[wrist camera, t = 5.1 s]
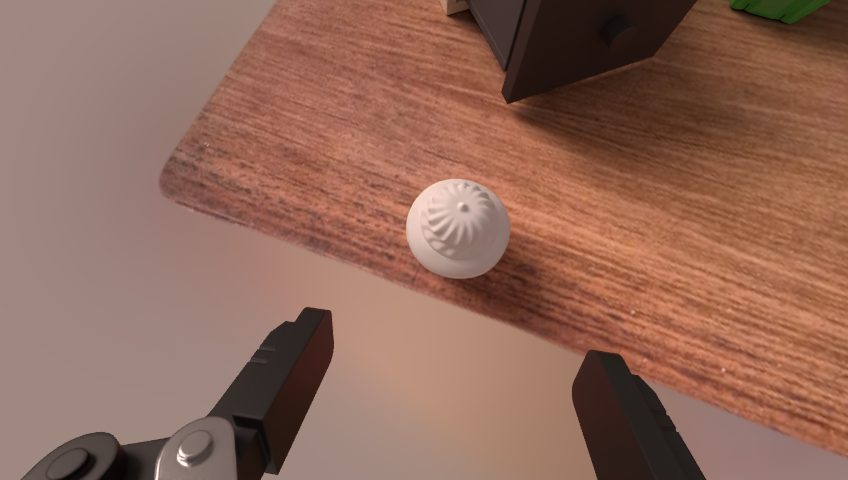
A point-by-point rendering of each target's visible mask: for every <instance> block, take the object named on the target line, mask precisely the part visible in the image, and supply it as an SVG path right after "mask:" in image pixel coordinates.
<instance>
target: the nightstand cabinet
mask: <svg viewBox="0 0 848 480" xmlns="http://www.w3.org/2000/svg"><path fill="white" fill-rule="evenodd" d="M439 2H440V4H441V6H442V8H443V9H444V11H445V13H446V15H450V14H453V13H457V12H460V11H463V10H467V9H469V7H468V5H467V3H466V1H465V0H439Z"/></svg>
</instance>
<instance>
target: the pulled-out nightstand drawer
mask: <svg viewBox="0 0 848 480" xmlns="http://www.w3.org/2000/svg"><path fill="white" fill-rule="evenodd" d="M465 1H466V3H467V5H468V7H469V9H470V10H471V12H472V14H473V16H474V18H475V20H476V21H477V23H478V25H479V27H480V29H481V30H482V32H483V34H484V36H485V38H486V40H487V41H488V43H489V45H490V47H491V49H492V51H493V52H494V54H495V56H496V58H497V60H498V61H499V63H500V65H501V67H502V69H503V71H507V74H506V78H505V81H504V85H503V88H502V92H501V93H502V95H503V97H504V99H505V100H506V102H507V104H509V103H513V102H516V101H519V100H522V99H525V98H528V97H531V96H534V95H537V94H540V93H543V92H546V91H549V90H552V89H555V88H558V87H561V86H564V85H567V84H570V83H573V82H576V81H579V80H582V79H585V78H589V77H592V76H595V75H598V74H601V73H604V72H607V71H610V70H613V69H616V68H619V67H622V66H625V65H628V64H631V63H634V62H637V61H640V60H643V59H646V58H649V57H652V56H654V54H655V53H656V52H657V51H658V49H659V48H660V47H661V46H662V44H663V43H664V42H665V41H666V39H667V38H668V37H669V36H670V34H671V33H672V32H673V31H674V29H675V28H676V27H677V25H678V24H679V23H680V22H681V20H682V19H683V18H684V17H685V15H686V14H687V13H688V12H689V10H690V9H691V8H692V7H693V5H694V4H695V3H696V2H697V0H465Z"/></svg>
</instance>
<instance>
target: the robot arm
mask: <svg viewBox="0 0 848 480" xmlns="http://www.w3.org/2000/svg"><path fill="white" fill-rule="evenodd" d="M333 349H334V338H333V326H332V314H331V311H330V310H324V309H317V308H310V307H306V308H304V309H303V311H302V312H301V314H300V315H299V316H298V318H297V319H296V321H295V322H288V321H285V322H284V323H283V324H281V325H280V326H278V327H277V328H276V329H274V330H273V331H271V332H270V334H269V335H268V336H267V337H266V339H265V340H264V342H263V343H262V344H261V345H260V348H259V349H258V350H257V351H256V352H255V353H254V355H253V356H252V357H251V360H250V362H248V363H247V364H246V365H245V367H244V368H243V370H242V371H241V372H240V373H239V375H238V376H237V377H236V379H235V380H234V382H233V383H232V384H231V385H230V387H229V388H228V389H227V391H226V392H225V393H224V395H223V396H222V397H221V399H220V400H219V402H218V403H217V404H216V405H215V407H214V408H213V409H212V410H211V412H210V413H209V414H208V415H207V416H206V417H204V418H201V419H198V420H195V421H193V422H191V423H189V424H187V425H186V426H184V427H182V428H181V429H180V430H178V431H177V432H176V433H175V434H174V435H172V437H168V438H164V439H158V440H152V441H146V442H140V443H134V444H128V445H120V444H119V442H118V441H117V439H116V438H115V437H114V436H113V435H111V434H110V433H105V432H96V433H90V434H86V435H83V436H80V437H77V438H75V439H73V440H71V441H68V442H66V443H65V444H63V445H61V446H59V447H58V448H57V449H55V450H53V451H52V452H50V453H49V454H48V455H47V456H45V457H44V458H43V459H42V460H41V461H39V462H38V463H37V464H36V465H35V466H34V467H33V468H32V469H31V470H30V471H29V472H28V473H27V474H26V475H25V476H24V477H23V478H22V479H21V480H261V478H262V476H263V474H264V472H265V473H270V474H275V475H278V474H279V472H280V469H281V467H282V465H283V463H284V461H285V459H286V457H287V454H288V452H289V450H290V448H291V446H292V444H293V441H294V439H295V437H296V435H297V433H298V431H299V429H300V426H301V424H302V422H303V420H304V418H305V416H306V414H307V412H308V409H309V407H310V405H311V403H312V401H313V399H314V397H315V394H316V392H317V390H318V388H319V386H320V384H321V382H322V379H323V377H324V375H325V373H326V371H327V369H328V367H329V364H330V362H331V359H332V355H333ZM572 400H573V404H574V407H575V410H576V414H577V417H578V420H579V423H580V426H581V429H582V432H583V436H584V439H585V441H586V444H587V448H588V451H589V454H590V457H591V460H592V463H593V467H594V470H595V473H596V476H597V479H598V480H706V479H705V477H704V475H703V473H702V472H701V470H700V468H699V466H698V465H697V463H696V461H695V460H694V458H693V456H692V454H691V453H690V451H689V449H688V448H687V446H686V444H685V443H684V441H683V439H682V437H681V436H680V434H679V432H676V427H675V425H674V424H673V422H672V420H671V419H670V417H669V416H668V415H666V410H665V408H664V407H663V405H662V403H661V402H660V400H659V398H658V396H657V395H656V393H655V392H654V391H653V390H652V389H651V388H650V387H649V386H648V385H647V384H646V383H645V382H644V381H643V380H642V379H641V378H640V377H639V376H638V375H633V374H631V372H630V370H629V368H628V367H627V365H626V363H625V361H624V359H623V358H622V357H621V355H619V354H617V353H610V352H603V351H597V350H590V351H588V353H587V354H586V356H585V359H584V361H583V363H582V365H581V367H580V369H579V371H578V374H577V376H576V378H575V380H574V382H573V386H572Z"/></svg>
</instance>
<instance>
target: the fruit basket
mask: <svg viewBox="0 0 848 480" xmlns="http://www.w3.org/2000/svg"><path fill="white" fill-rule="evenodd" d="M829 1H831V0H731V3H730V7H731V8H734V9H744V10H745V11H747V12H749V13H752V14H756V15H759V16H763V17H767V18H770V19H780V20H781V21H783V22H785V23H788V24H792V23H794V22H796V21H798V20H799V19H801V18H803V17H804V16H806V15H808V14H809V13H811V12H813V11H814V10H816V9H818V8H819V7H821V6H823V5H824V4H826V3H828V2H829Z"/></svg>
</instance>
